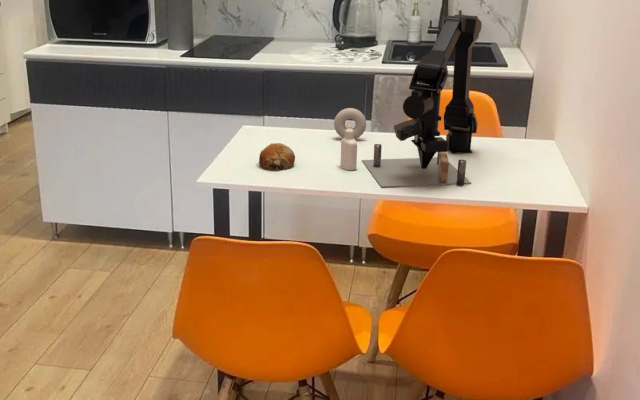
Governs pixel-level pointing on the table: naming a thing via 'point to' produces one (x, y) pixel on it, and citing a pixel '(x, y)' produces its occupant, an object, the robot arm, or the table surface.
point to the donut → (350, 114)
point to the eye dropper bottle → (349, 150)
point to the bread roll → (276, 157)
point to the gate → (443, 165)
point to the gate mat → (410, 173)
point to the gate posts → (460, 163)
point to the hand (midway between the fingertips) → (423, 168)
